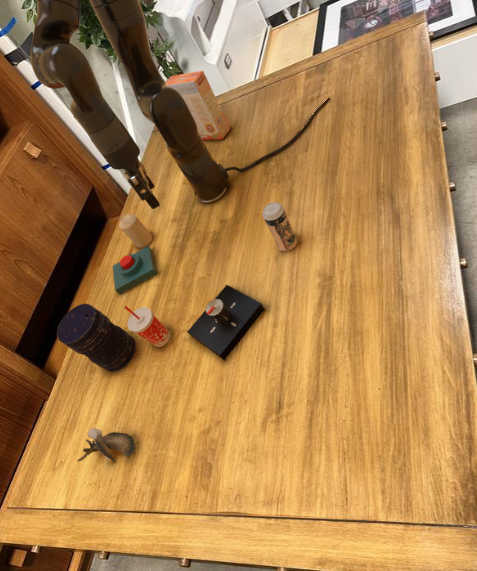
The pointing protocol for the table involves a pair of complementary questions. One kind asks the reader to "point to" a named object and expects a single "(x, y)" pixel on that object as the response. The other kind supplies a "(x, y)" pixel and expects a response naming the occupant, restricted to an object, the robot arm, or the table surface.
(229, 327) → the control panel
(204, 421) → the table surface
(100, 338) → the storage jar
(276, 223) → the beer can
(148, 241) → the candle
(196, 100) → the cracker box
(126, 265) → the button
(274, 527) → the table surface
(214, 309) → the dial
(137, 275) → the button block
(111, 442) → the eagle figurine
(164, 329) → the beverage cup
